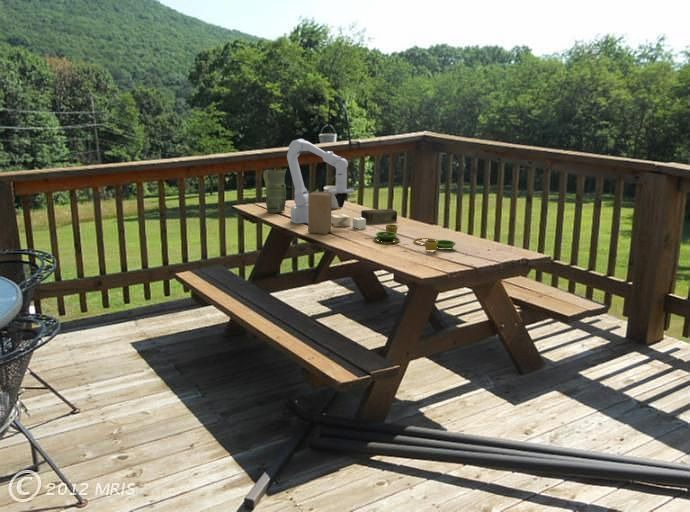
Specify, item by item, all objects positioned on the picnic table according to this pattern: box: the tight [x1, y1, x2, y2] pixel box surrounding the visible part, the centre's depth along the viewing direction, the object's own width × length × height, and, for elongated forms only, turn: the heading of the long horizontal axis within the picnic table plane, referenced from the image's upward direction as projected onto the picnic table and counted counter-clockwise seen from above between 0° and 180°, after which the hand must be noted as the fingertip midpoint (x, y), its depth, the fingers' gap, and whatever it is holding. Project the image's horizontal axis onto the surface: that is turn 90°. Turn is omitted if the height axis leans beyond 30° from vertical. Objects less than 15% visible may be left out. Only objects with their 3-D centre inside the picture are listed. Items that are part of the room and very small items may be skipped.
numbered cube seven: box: [352, 216, 367, 229], centre depth 349 cm, size 5×5×5 cm
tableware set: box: [365, 223, 456, 251], centre depth 318 cm, size 41×28×6 cm
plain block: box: [331, 213, 351, 227], centre depth 355 cm, size 8×8×5 cm
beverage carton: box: [360, 208, 398, 224], centre depth 366 cm, size 8×19×7 cm, turn 114°
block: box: [307, 190, 333, 235], centre depth 335 cm, size 10×10×20 cm
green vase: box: [262, 168, 288, 214], centre depth 383 cm, size 11×12×25 cm
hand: (340, 207), depth 353 cm, fingers closed
